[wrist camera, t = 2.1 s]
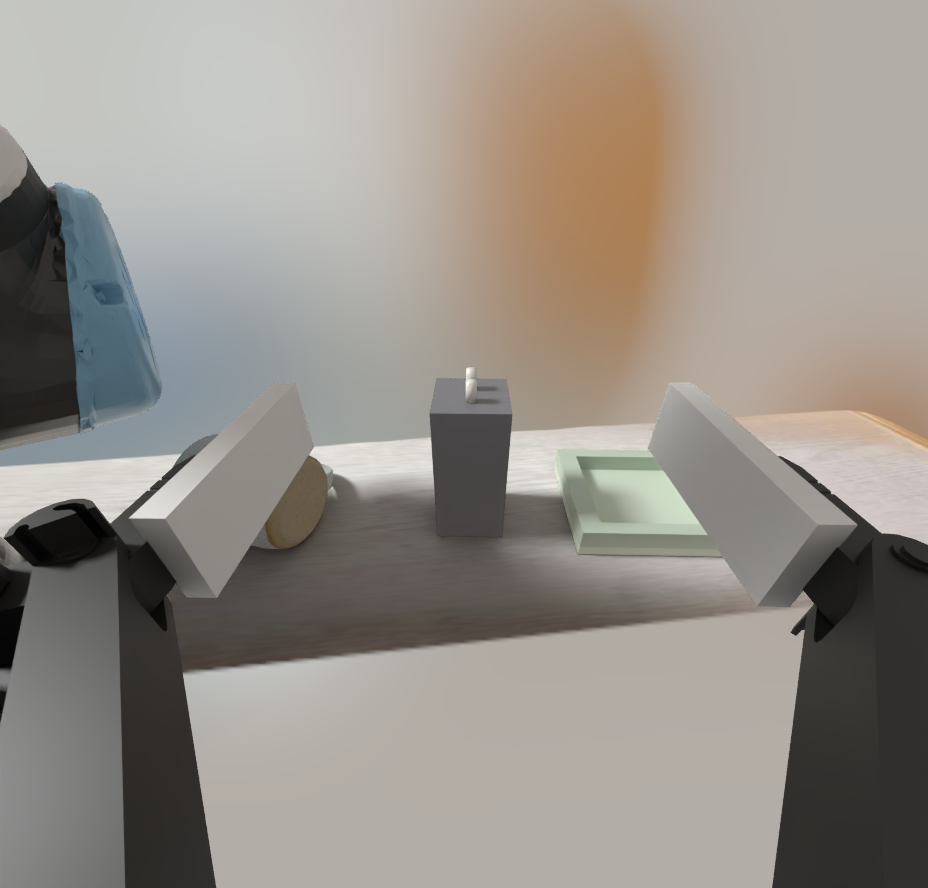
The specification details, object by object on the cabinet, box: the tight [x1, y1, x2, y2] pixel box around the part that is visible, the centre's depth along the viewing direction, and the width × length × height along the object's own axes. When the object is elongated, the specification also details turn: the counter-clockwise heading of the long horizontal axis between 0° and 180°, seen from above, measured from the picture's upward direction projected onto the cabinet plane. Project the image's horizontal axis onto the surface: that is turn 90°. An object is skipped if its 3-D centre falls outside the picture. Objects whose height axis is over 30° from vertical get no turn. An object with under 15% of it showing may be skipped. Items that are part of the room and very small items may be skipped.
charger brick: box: [430, 367, 512, 537], centre depth 27 cm, size 5×5×12 cm
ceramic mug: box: [173, 434, 333, 549], centre depth 29 cm, size 11×8×8 cm
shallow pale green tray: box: [554, 450, 723, 557], centre depth 30 cm, size 12×10×2 cm
